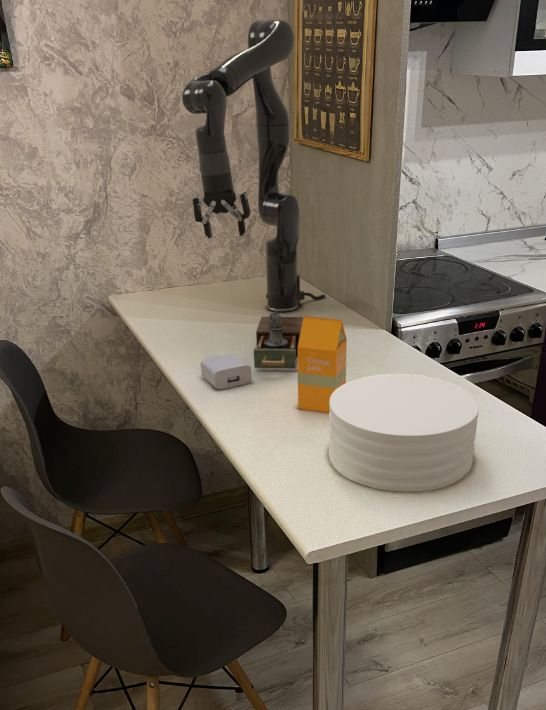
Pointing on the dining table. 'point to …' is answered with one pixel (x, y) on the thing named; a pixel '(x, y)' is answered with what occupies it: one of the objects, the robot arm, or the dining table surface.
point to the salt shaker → (275, 333)
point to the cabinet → (289, 328)
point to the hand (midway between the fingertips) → (225, 236)
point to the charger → (225, 371)
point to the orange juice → (320, 362)
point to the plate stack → (402, 432)
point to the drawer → (275, 354)
